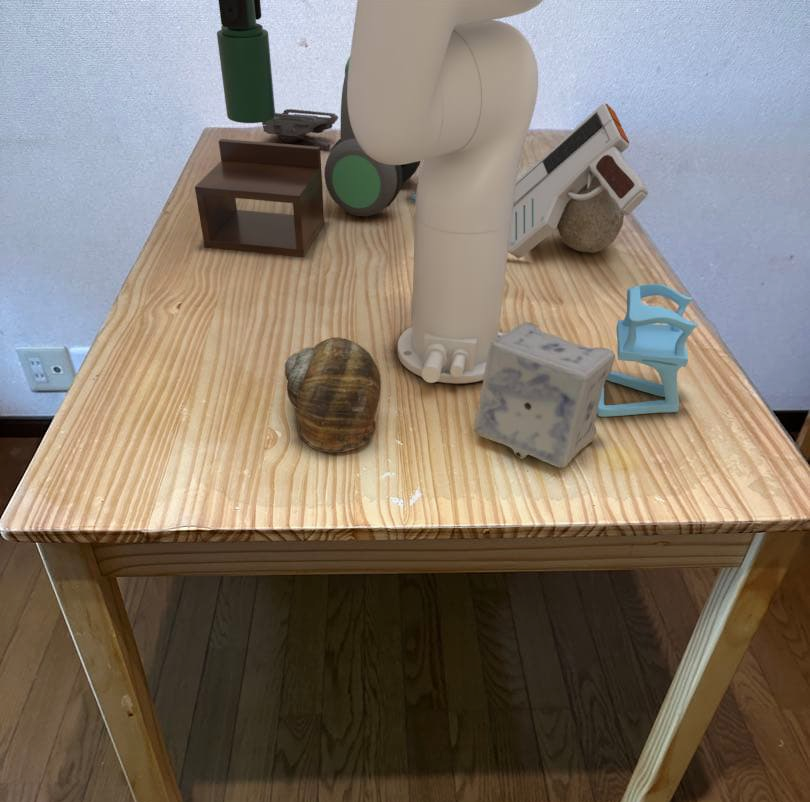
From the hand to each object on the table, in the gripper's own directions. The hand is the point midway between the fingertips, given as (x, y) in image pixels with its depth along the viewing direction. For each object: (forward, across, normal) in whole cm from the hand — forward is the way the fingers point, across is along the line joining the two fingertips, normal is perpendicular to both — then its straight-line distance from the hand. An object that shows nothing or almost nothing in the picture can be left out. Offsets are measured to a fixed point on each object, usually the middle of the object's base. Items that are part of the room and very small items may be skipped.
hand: (241, 20), depth 92 cm
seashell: (+26, +41, +20) cm, 52 cm away
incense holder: (+26, +40, +40) cm, 62 cm away
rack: (+26, 0, 0) cm, 26 cm away
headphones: (+26, -17, +12) cm, 33 cm away
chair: (+26, +31, +50) cm, 64 cm away
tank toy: (+21, -39, -6) cm, 44 cm away
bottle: (+10, 0, 0) cm, 10 cm away
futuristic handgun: (+21, +6, +43) cm, 48 cm away
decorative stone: (+25, -5, +44) cm, 51 cm away
